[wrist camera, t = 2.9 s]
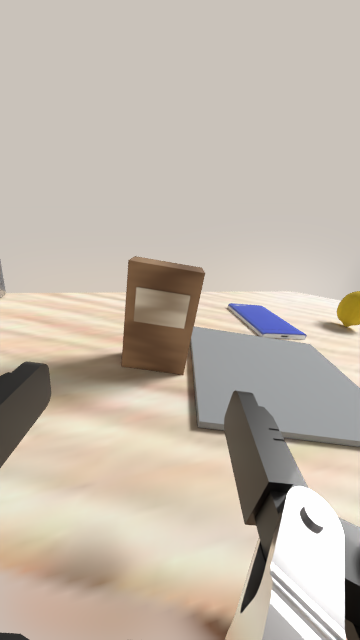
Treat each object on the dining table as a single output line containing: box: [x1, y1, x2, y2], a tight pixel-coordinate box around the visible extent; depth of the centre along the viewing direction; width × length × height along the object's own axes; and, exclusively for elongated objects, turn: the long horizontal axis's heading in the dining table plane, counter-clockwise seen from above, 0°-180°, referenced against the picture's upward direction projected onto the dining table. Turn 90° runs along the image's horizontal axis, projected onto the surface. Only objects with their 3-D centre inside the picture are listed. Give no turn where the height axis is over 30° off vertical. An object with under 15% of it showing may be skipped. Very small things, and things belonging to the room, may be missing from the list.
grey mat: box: [190, 327, 360, 447], centre depth 23 cm, size 18×16×1 cm
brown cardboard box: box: [122, 256, 205, 375], centre depth 19 cm, size 6×3×10 cm, turn 90°
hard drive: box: [228, 303, 307, 340], centre depth 38 cm, size 2×8×12 cm
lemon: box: [337, 291, 360, 327], centre depth 42 cm, size 6×6×8 cm
